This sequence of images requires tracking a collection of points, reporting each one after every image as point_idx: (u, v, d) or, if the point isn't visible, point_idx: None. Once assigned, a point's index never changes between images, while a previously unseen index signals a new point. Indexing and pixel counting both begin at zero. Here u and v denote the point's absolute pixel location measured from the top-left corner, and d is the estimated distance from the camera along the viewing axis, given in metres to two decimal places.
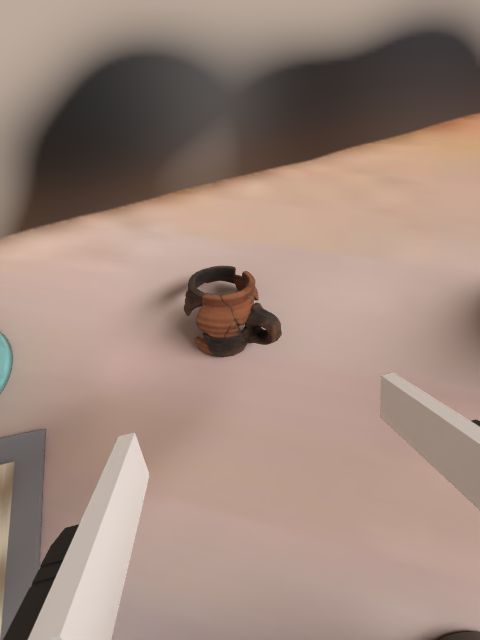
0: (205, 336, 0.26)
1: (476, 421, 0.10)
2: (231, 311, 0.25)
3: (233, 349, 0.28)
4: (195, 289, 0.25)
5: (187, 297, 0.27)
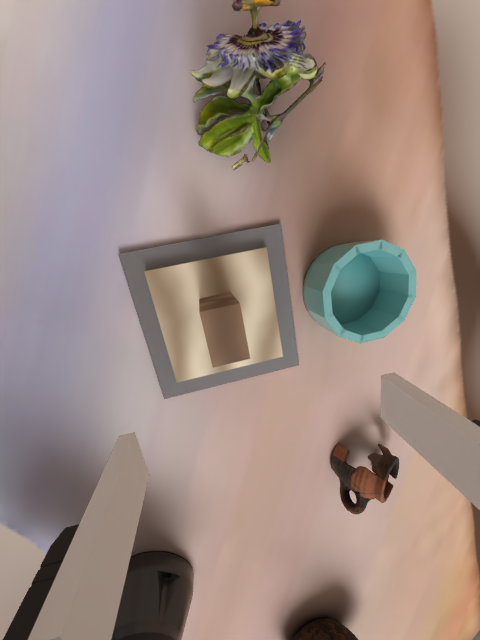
0: (352, 468, 0.39)
1: (476, 421, 0.10)
2: (370, 493, 0.38)
3: (337, 473, 0.41)
4: (389, 473, 0.37)
5: (381, 458, 0.38)
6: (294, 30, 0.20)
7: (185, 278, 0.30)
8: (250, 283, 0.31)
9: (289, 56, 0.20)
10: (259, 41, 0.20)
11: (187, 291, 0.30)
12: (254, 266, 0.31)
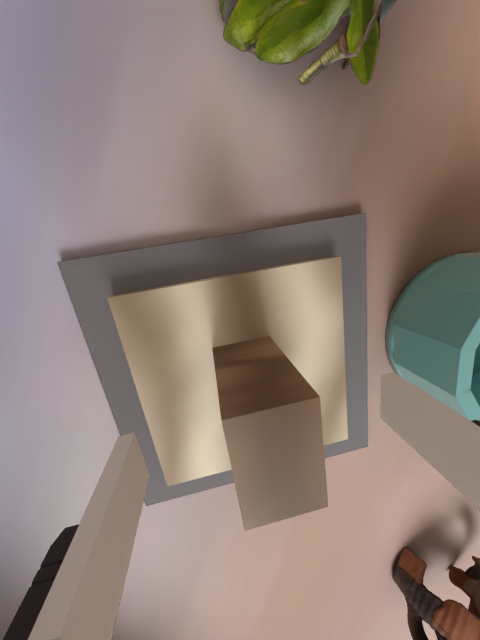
0: (437, 601, 0.25)
1: (476, 421, 0.10)
2: None
3: (406, 593, 0.27)
4: None
5: None
6: None
7: (188, 311, 0.16)
8: (305, 321, 0.17)
9: None
10: None
11: (190, 335, 0.16)
12: (314, 291, 0.17)
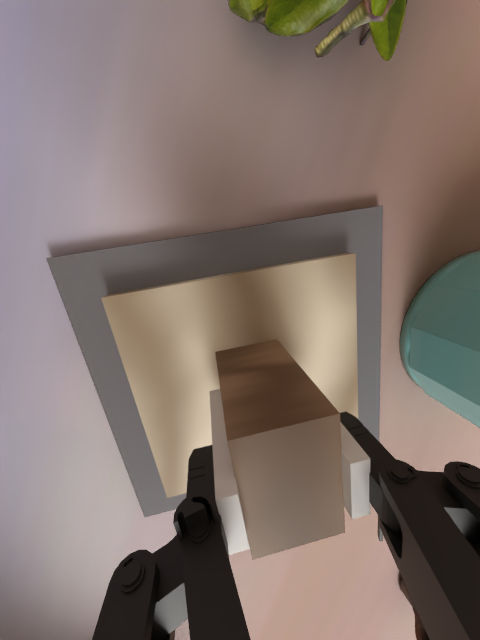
0: None
1: (345, 412, 0.12)
2: None
3: (413, 604, 0.26)
4: None
5: None
6: None
7: (189, 313, 0.14)
8: (316, 323, 0.16)
9: None
10: None
11: (192, 338, 0.15)
12: (326, 291, 0.15)
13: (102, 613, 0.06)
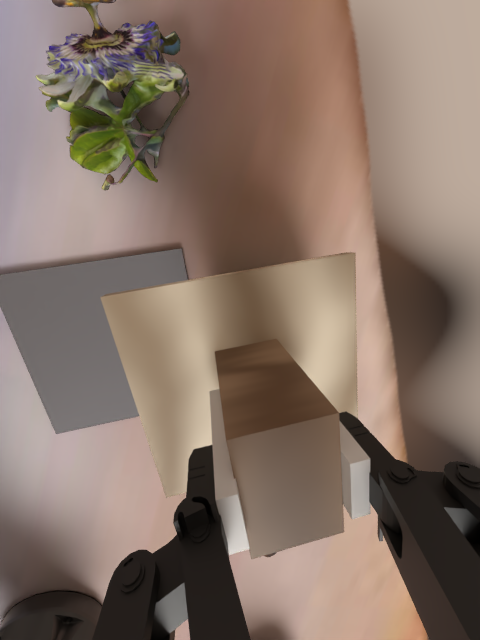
0: None
1: (345, 412, 0.12)
2: None
3: None
4: None
5: None
6: (146, 33, 0.17)
7: (188, 312, 0.14)
8: (315, 322, 0.16)
9: (131, 65, 0.16)
10: (102, 44, 0.17)
11: (191, 337, 0.15)
12: (326, 290, 0.15)
13: (102, 612, 0.06)
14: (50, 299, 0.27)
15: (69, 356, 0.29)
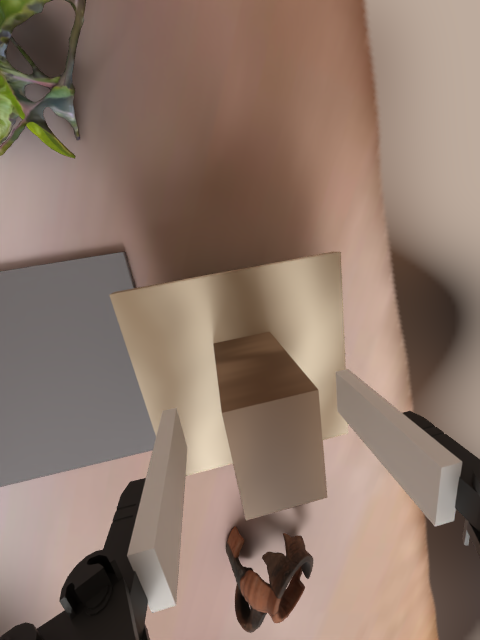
0: (241, 571, 0.28)
1: (410, 412, 0.11)
2: (262, 609, 0.27)
3: (232, 567, 0.31)
4: (285, 586, 0.26)
5: (280, 559, 0.27)
6: None
7: (189, 307, 0.16)
8: (305, 316, 0.17)
9: None
10: None
11: (191, 331, 0.16)
12: (314, 287, 0.17)
13: None
14: None
15: None
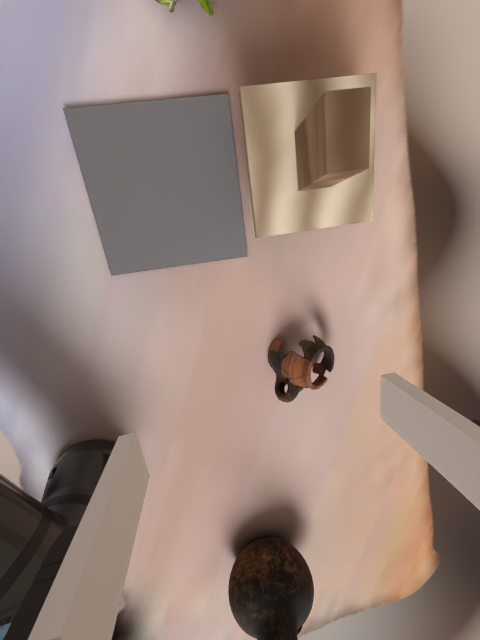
0: (283, 355, 0.38)
1: (476, 421, 0.10)
2: (298, 377, 0.37)
3: (273, 366, 0.41)
4: (316, 355, 0.36)
5: (312, 344, 0.38)
6: None
7: (283, 102, 0.26)
8: None
9: None
10: None
11: (283, 120, 0.27)
12: None
13: None
14: (114, 136, 0.31)
15: (127, 197, 0.33)
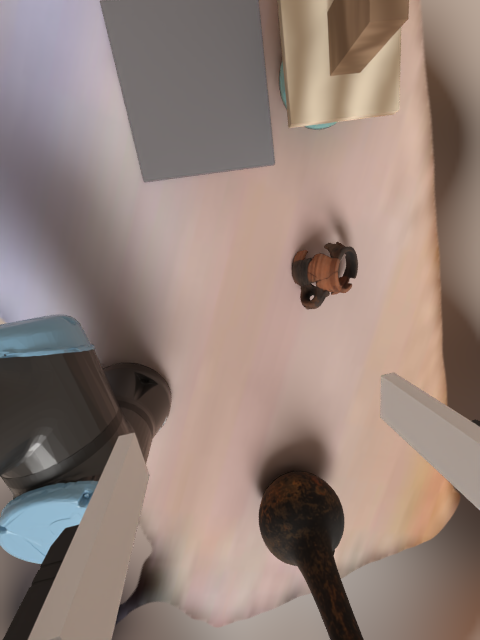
0: (309, 259, 0.39)
1: (476, 421, 0.10)
2: (326, 278, 0.38)
3: (297, 277, 0.42)
4: (343, 253, 0.37)
5: (337, 245, 0.39)
6: None
7: None
8: None
9: None
10: None
11: None
12: None
13: None
14: (148, 32, 0.31)
15: (160, 97, 0.33)
